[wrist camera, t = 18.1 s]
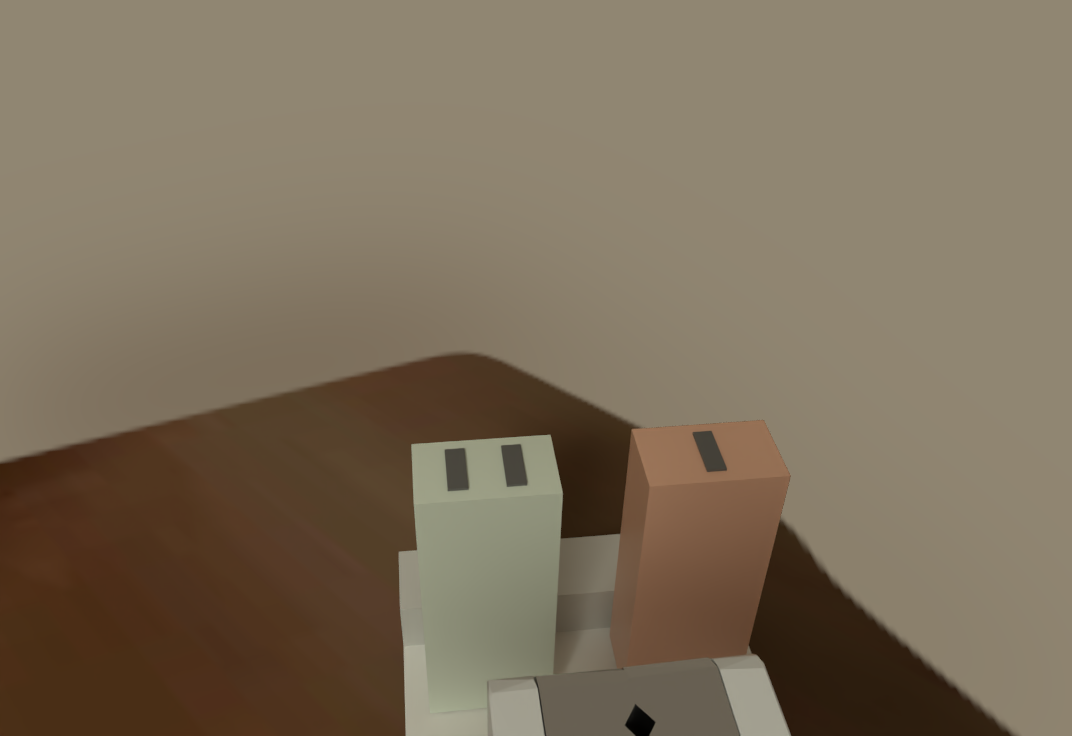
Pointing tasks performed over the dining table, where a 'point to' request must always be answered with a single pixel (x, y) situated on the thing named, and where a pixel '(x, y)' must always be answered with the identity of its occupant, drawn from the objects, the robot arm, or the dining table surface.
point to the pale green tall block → (486, 563)
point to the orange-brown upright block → (695, 540)
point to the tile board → (477, 718)
